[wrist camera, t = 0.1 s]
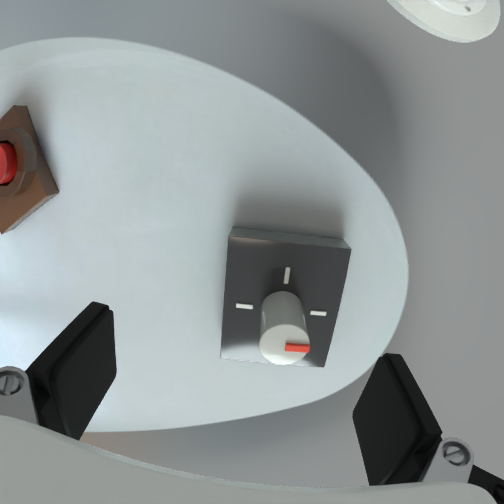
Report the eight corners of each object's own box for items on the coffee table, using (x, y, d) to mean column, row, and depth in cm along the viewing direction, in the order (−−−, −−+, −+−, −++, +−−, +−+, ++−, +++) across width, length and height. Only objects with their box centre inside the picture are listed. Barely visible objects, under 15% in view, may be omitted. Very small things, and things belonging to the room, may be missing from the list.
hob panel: (232, 226, 29) (228, 236, 26) (343, 239, 28) (352, 249, 25) (223, 341, 32) (219, 359, 29) (320, 350, 32) (324, 368, 29)
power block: (-17, 150, 27) (-39, 153, 23) (32, 100, 25) (8, 98, 21) (12, 229, 30) (-9, 239, 26) (65, 188, 28) (42, 194, 24)
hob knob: (258, 325, 28) (256, 365, 22) (263, 288, 27) (261, 324, 21) (299, 329, 28) (305, 369, 22) (305, 292, 27) (314, 328, 21)
